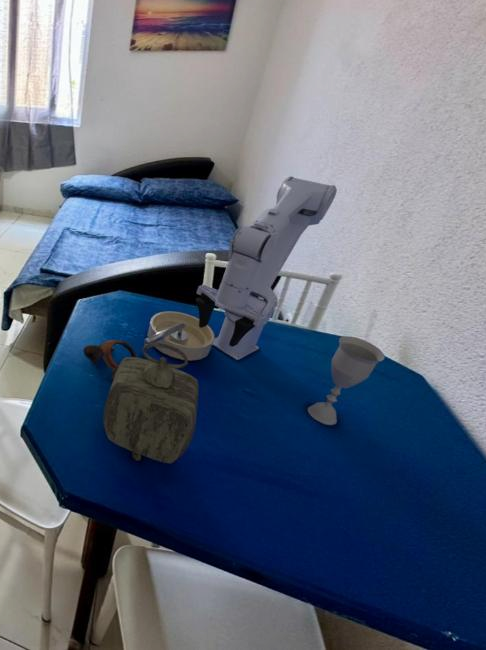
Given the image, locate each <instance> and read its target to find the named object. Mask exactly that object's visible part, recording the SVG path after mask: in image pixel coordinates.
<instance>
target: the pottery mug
mask: <svg viewBox="0 0 486 650" xmlns="http://www.w3.org/2000/svg"><path fill="white" fill-rule="evenodd" d="M115 345H119V346H120V345H121V346H122V347H124V348H125V349H127V350H128V352H129V354H130V357H135V358H138V357H137V353H136V352H135V349H134V348H133V347H132V345H131V344H129V343H128V342H126V341H123V340H106V341H104V342H101V343H100V344H99V345H97V344H90V345H86V346H85V347H84V348H83V355H84V357H86V359H88V360H89V361H90V362H91V364H92V365H93V366H94V365H96V362H97V361H98V360H99V359H101V358H102V359H103V361H104V362H105V364H106V365H107V366H108V367H109V369H110V370H111V371H112V372H113V374H111V376H110V378H109V379H110V380H112V381H113V380H114V377H115V374H116V372H117V369H118V367H119V364H118V363H117V362H116V361H115V359H114V358H113V356H112V354H113V352H115V350H116V349H115V348H114V346H115Z"/></svg>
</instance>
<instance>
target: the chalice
mask: <svg viewBox="0 0 486 650" xmlns="http://www.w3.org/2000/svg"><path fill="white" fill-rule="evenodd" d="M338 344H339V345H338V347H337V349H336V351H335V353H334V355H333V356H332V358H331V365H330V371H331V379H332V382H333V384H335V386H334V387H333V388H331V389H330V391H331V393H330V394H327V395H326V398H327V400H326V401H325V402H324V401H319V402H315V403H314V404H312V405H310V406H309V407H307V412H308V414H309V415H310V416H311V417H312V418H313V419H314V420H316V421H317V422H319V423H321V424H323V425H328V426H333V425H336V424H337V422H338V420H337V411H336V409H335V407H334V406H333V404H334V403H337V402H338V399H337V397H338V396H340V395H341V390H342V388H343V389H349V388H352V387H354V386H356V385H358V384H361V383H363V382H364V381H365V380H367V379H368V378H369V377H370V375H371V374H372V372H373V371H374V369H375V367H376V366H377V364H378V363H380V362H382V361H384V360H385V358H386V357H385V354H384V353H383V351H382V350H381V349H380V348H378V347H377V346H376V345H374V344H373V343H371V342H368V341H367V340H364V339H362V338H358V337H355V336H349V335H348V336H347V335H346V336H341V337H340V338H339V339H338Z"/></svg>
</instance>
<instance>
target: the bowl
mask: <svg viewBox="0 0 486 650" xmlns="http://www.w3.org/2000/svg"><path fill="white" fill-rule="evenodd" d="M180 322H184V323H185V327H184V328H183V331H185V332H186V333H187V334H188V336H189V337H188V341H187V344H186V345H181V344H177V343H174V342H172V341H170V340H169V335H168V336H166V337H164V338H162V339H160V340H158V341H156V342H154V343H162V344H167V345H170V346H173V347H175V348H178V349H179V350H181V351H182V352H183V353H184V354H185V355H186V356H187V359H188V361H198V360H203V359H204V358H206V357H208V356H209V354H210V353H211V350H212V348H213V346H214V345H213V342H214V338H215V333H214V331H213V329H212V328H211V327H210V326H209V325H207V326H205V327H203V328H200V327H199V317H196V316H193V315H191V314H188V313H185V312H180V311H172V310H171V311H169V310H168V311H161V312H158V313H155V314H154V315H153V316H152V317H151V318H150V322H149V325H148V328H147V329H148V330H147V334H146V335H147V336H146V337H147V338H148V337H150V336H153V335H155V334H157V333H159V332H161V331H163V330H165V329H167V328H169V327H171V326H173V325H175V324H178V323H180ZM154 348H155V349H156V350H158V351H159V352H160V353H163V354H165V355H167V356H169V357H171V358H174V359H178V360H181V361H185V360H184V358H183V357H182V356H181V355H180V354H178V353H177V352H175V351H172V350H169V349H166V348H162V347H154Z"/></svg>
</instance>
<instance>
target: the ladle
mask: <svg viewBox="0 0 486 650" xmlns="http://www.w3.org/2000/svg"><path fill="white" fill-rule="evenodd" d="M184 327H185V323H184V322H180V323H178V324H175V325H173V326H171V327H169V328H167V329H165V330H163V331H161V332H159V333H157V334H155V335H153V336H150V337H148V336H147V337H146V338H145V339H144V346H145V345H147V344H150V343H154V342H156V341H158V340H160V339H162V338H164V337H166V336H168V335H169V340H170V341H172V342H174V343H177V344H181V345H186V344H187V341H188V337H189V336H188V334H187V333H186V332H185V331H183V328H184ZM150 348H151V347H149V348H147V349H146V350H145V352H146V354H147V355H149V351H150ZM142 357H143V359H147V358H146V357H145V356H144V354H143V353H142Z"/></svg>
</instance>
